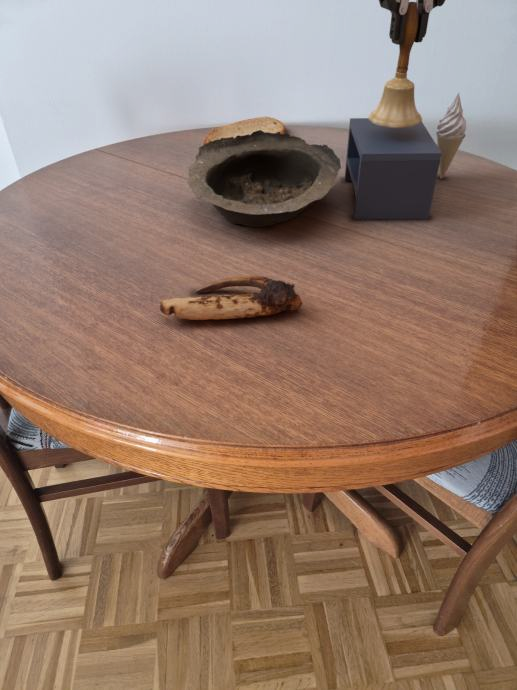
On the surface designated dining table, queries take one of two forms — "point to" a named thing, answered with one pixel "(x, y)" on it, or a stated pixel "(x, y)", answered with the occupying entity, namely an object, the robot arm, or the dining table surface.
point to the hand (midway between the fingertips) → (406, 41)
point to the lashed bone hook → (235, 300)
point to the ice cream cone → (450, 134)
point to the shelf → (391, 170)
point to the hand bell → (400, 84)
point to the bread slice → (246, 128)
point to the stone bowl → (262, 176)
